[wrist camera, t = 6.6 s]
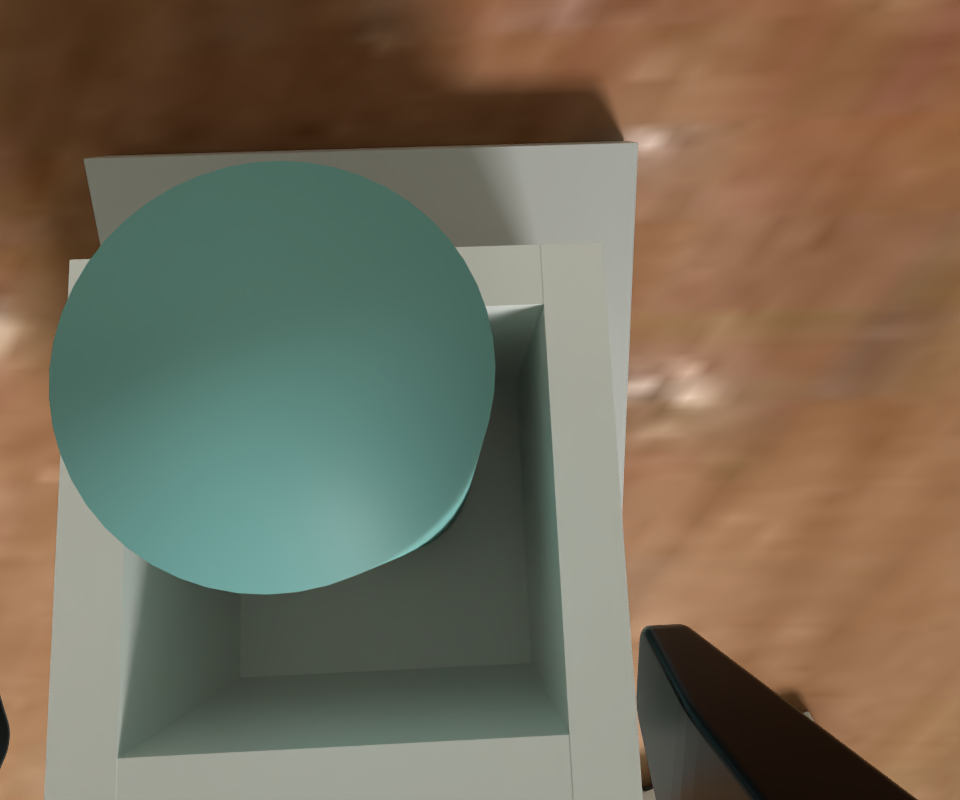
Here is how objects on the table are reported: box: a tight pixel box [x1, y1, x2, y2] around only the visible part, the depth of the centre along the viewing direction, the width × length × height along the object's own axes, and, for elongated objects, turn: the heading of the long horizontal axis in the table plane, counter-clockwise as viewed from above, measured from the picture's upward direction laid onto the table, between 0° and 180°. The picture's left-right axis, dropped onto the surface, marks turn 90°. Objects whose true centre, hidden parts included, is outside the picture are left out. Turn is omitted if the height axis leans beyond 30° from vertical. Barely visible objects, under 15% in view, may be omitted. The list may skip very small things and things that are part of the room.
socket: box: [44, 141, 643, 800], centre depth 12 cm, size 12×10×8 cm
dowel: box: [49, 161, 495, 595], centre depth 10 cm, size 3×3×9 cm
